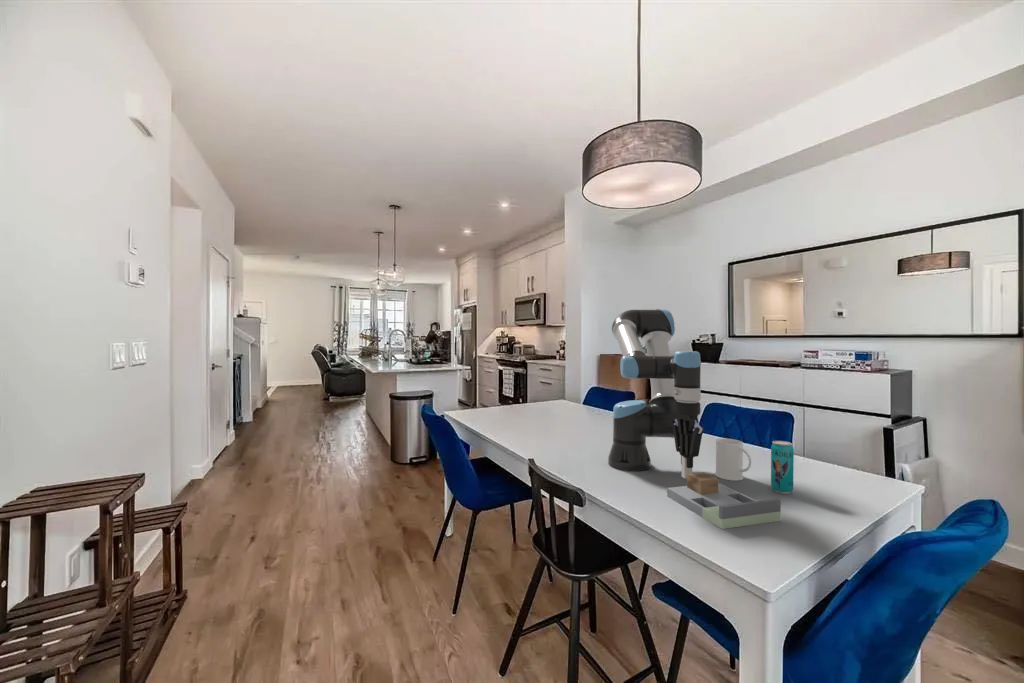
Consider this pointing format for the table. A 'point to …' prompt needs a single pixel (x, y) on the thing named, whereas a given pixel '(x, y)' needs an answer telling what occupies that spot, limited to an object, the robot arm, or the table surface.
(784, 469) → the beverage can
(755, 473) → the table surface
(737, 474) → the mug
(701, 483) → the block
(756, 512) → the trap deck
